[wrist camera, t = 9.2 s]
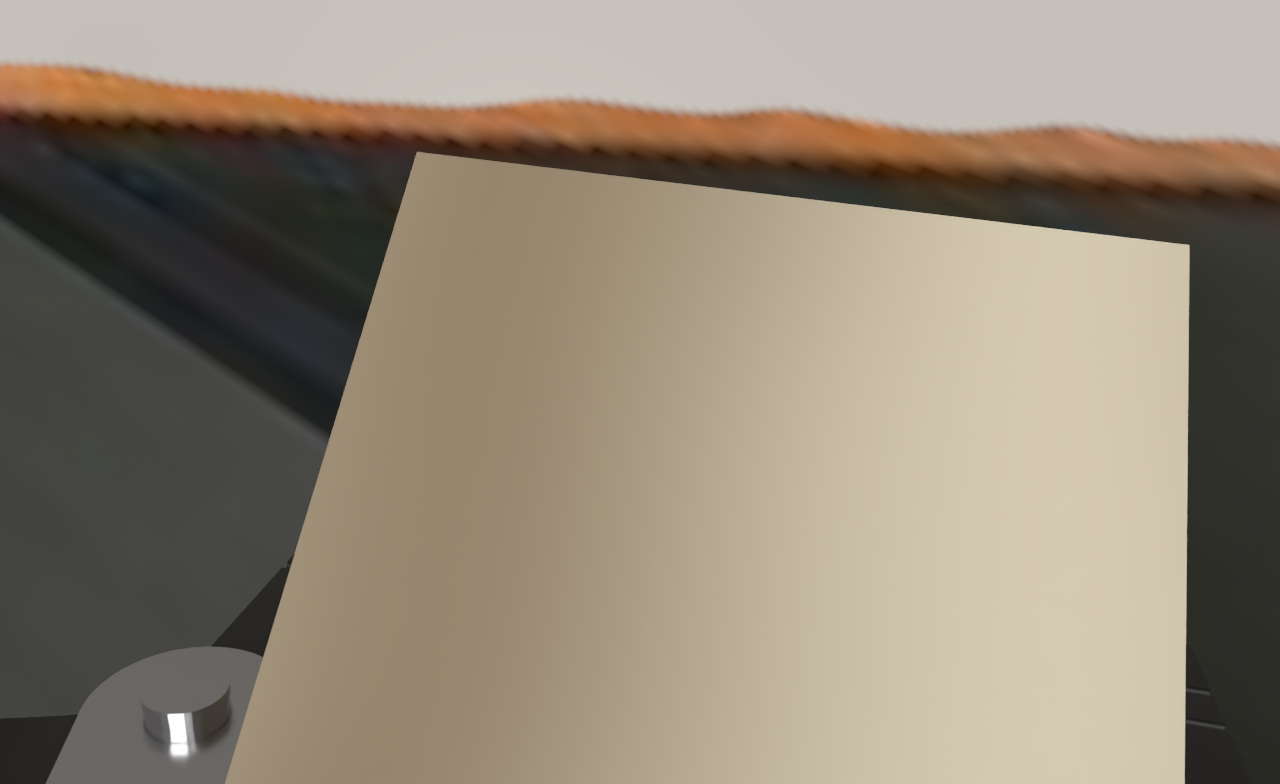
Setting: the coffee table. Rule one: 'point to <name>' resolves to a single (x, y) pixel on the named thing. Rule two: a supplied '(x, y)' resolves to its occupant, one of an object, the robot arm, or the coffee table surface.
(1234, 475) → the coffee table surface
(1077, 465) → the birch block
